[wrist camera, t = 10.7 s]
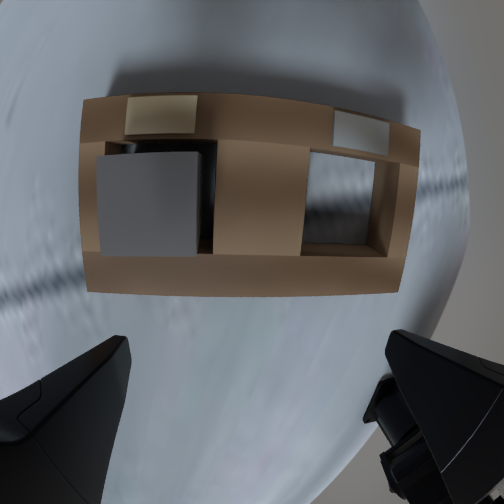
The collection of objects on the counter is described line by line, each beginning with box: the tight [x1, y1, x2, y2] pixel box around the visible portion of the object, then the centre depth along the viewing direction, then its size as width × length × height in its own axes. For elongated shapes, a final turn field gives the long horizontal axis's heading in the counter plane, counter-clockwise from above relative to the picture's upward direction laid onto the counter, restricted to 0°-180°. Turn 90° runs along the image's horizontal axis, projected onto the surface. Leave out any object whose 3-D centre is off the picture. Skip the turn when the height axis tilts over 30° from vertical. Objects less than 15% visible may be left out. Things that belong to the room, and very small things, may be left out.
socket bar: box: [79, 92, 421, 297], centre depth 16 cm, size 11×20×3 cm, turn 86°
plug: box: [96, 152, 203, 257], centre depth 14 cm, size 4×4×6 cm
